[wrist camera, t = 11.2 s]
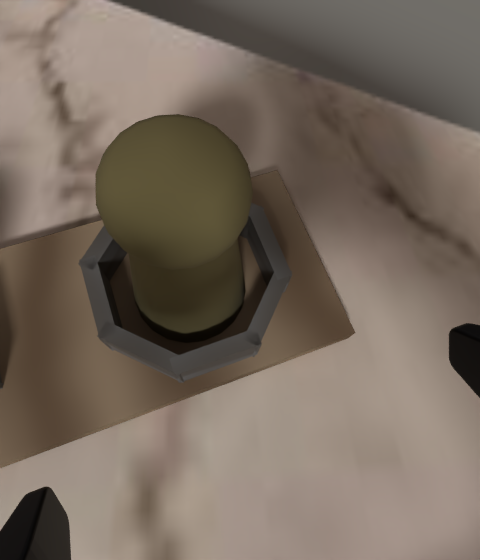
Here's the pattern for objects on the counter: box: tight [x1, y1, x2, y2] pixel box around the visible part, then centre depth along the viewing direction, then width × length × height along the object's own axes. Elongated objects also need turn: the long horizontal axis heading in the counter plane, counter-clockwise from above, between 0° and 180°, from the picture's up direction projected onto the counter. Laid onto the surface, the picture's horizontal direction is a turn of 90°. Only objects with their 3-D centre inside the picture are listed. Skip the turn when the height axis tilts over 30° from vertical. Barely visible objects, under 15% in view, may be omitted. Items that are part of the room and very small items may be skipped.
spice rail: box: [0, 170, 355, 468], centre depth 18 cm, size 30×11×10 cm, turn 110°
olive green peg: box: [96, 114, 253, 343], centre depth 18 cm, size 6×6×11 cm
